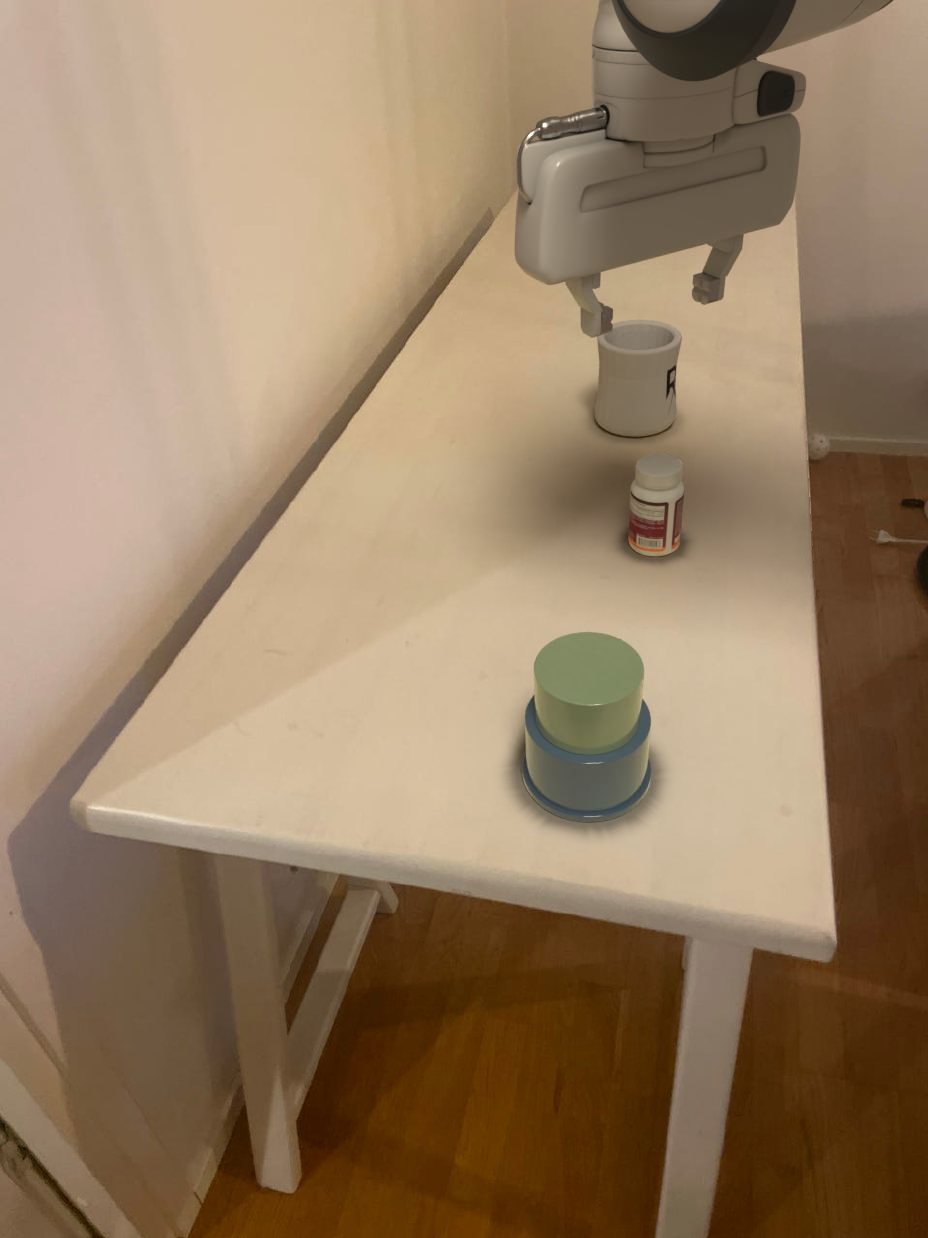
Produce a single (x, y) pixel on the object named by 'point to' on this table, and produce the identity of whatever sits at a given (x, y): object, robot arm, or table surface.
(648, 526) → the pill bottle
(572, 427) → the table surface
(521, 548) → the table surface
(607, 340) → the mug
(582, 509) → the table surface
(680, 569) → the table surface
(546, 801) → the cup stack
